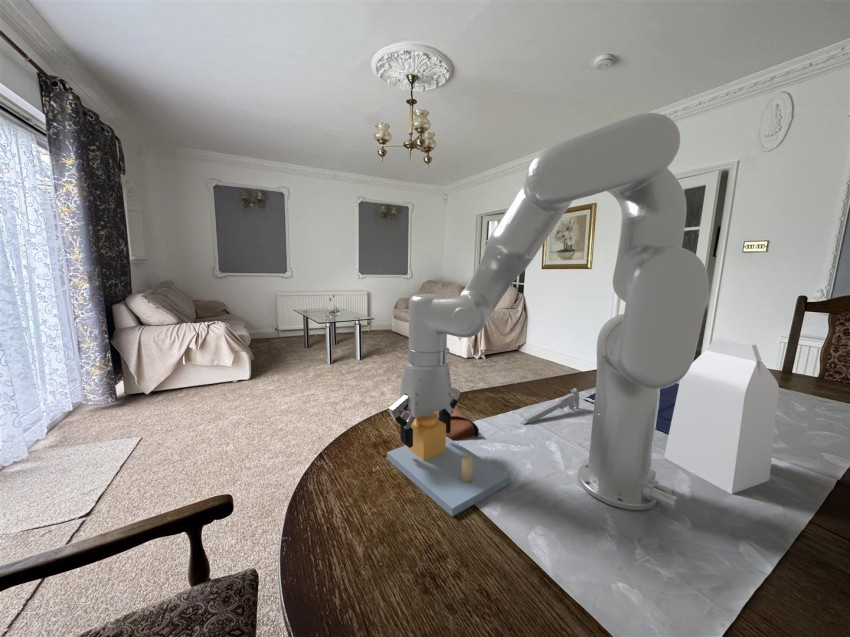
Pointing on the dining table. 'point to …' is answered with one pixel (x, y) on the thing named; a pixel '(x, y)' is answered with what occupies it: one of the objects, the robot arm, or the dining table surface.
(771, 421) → the milk
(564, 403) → the caliper
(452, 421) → the sunglasses case
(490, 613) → the dining table surface
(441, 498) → the board
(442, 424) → the cube with ball knob
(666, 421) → the folded navy cloth
